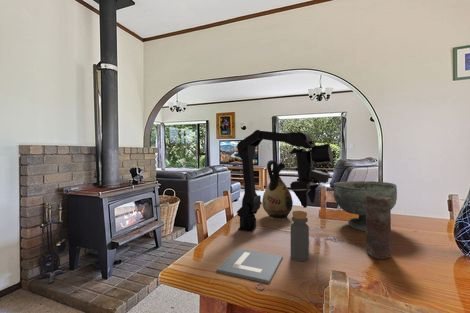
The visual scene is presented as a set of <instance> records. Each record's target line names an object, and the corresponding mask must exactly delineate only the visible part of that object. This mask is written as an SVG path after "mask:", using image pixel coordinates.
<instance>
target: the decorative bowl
mask: <svg viewBox="0 0 470 313" xmlns="http://www.w3.org/2000/svg"><path fill="white" fill-rule="evenodd" d="M366 195H370V196H379V197H385V198H387V197H389V198H390V205H391V210H392V209H393V208H394V207H395V206H396V204H397V200H398V190H397V184H395V183H393V182H392V183H391V182H387V181H386V182H385V181H365V180H361V181H360V180H358V181H355V180H354V181H339V182H338V181H337V182H334V183H333V198H334V201H335V203H336V204H337V205H338V206H339V207H340V208H341V210H343V211H344V212H345V213H348V214H352V215H358V217H356V218H355V217H354V218H350V219H349V220H348V222H347V225H348V226H349V227H350V228H354V229H355V230H359V231H363V232H366Z"/></svg>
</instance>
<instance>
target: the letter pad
mask: <svg viewBox="0 0 470 313" xmlns="http://www.w3.org/2000/svg"><path fill="white" fill-rule="evenodd" d="M283 258H284V257H283V255H280V254H273V253H267V252H262V251H256V250H251V249H250V250H249V249H244V248H236V249H235V250H234V251H233V252H232V254H230V255H229V256H228V257H227V258H226V259H225V260H224V261H223V262H222V263H221V264H219V266H218V267H217V268H216V272H217V273H221V274H225V275H229V276H234V277H238V278H242V279H247V280H252V281H256V282H261V283H264V284H270V283H271V281H272V279H273V277H274V276H275V274H276V272H277V270H278V268H279V266H280V264H281V263H282V261H283Z"/></svg>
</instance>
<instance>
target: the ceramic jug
mask: <svg viewBox="0 0 470 313" xmlns="http://www.w3.org/2000/svg"><path fill="white" fill-rule="evenodd" d="M267 161H268V162H267V164H266V169H267V173H268V178H269V183H268V185H267V186H266V188H265V190H264V192H263V195H262V201H261V204H262V208H263V210H264V212H266V214H267V216H268V218H269V219H270V220H280V221H282V220H288V216H289V214H290V213H291V211H292V210H293V206H294V205H293V204H294V200H293V198H292V194H291V192H290V189H289V188H288V187H287V185H286V183H285V182H284V181H283V179H282V178H281V176H280V172H281V171H282V170H284V169H285V168H286V165H285V164H284V163H282V162H280V163H278V162H277V161H276V160H271V159H270V160H267Z"/></svg>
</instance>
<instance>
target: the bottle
mask: <svg viewBox="0 0 470 313" xmlns="http://www.w3.org/2000/svg"><path fill="white" fill-rule="evenodd" d="M291 213H292V217H291V221H292V222H293V223H291V224H290V259H292V260H294V261H297V262H305V261H308V260H309V259H310V256H309V255H310V226H309V225H308V224H307V223H308V220H309V218H308V216H307V215H308V212H307V211H304V210H293V211H292V212H291Z"/></svg>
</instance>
